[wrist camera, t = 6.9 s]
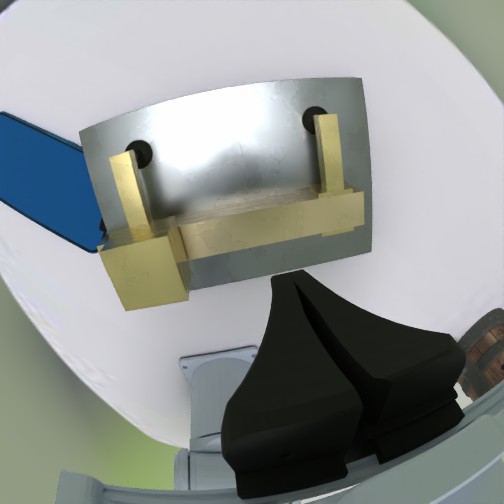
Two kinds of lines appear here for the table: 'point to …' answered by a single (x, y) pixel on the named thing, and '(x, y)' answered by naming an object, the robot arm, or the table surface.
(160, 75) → the table surface
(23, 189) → the smartphone
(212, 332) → the table surface
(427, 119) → the table surface
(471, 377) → the tankard
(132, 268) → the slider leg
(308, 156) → the base
